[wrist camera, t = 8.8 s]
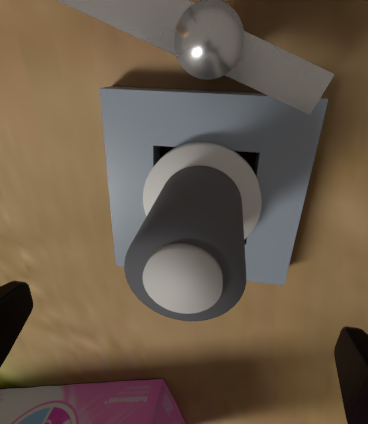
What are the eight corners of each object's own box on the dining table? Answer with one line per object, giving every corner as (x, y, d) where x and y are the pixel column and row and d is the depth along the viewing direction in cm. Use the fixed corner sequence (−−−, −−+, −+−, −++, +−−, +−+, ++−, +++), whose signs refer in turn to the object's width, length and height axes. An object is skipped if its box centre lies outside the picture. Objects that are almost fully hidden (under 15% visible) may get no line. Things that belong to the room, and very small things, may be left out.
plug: (265, 137, 16) (295, 208, 8) (251, 236, 19) (263, 358, 11) (152, 132, 17) (81, 191, 9) (155, 227, 20) (103, 335, 12)
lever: (27, -77, 13) (-105, -169, 8) (315, 61, 14) (365, 58, 9) (21, -11, 15) (-99, -54, 9) (286, 112, 15) (315, 137, 10)
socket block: (319, 95, 15) (328, 98, 13) (280, 269, 20) (284, 285, 18) (111, 86, 16) (99, 88, 15) (123, 252, 21) (115, 265, 20)
